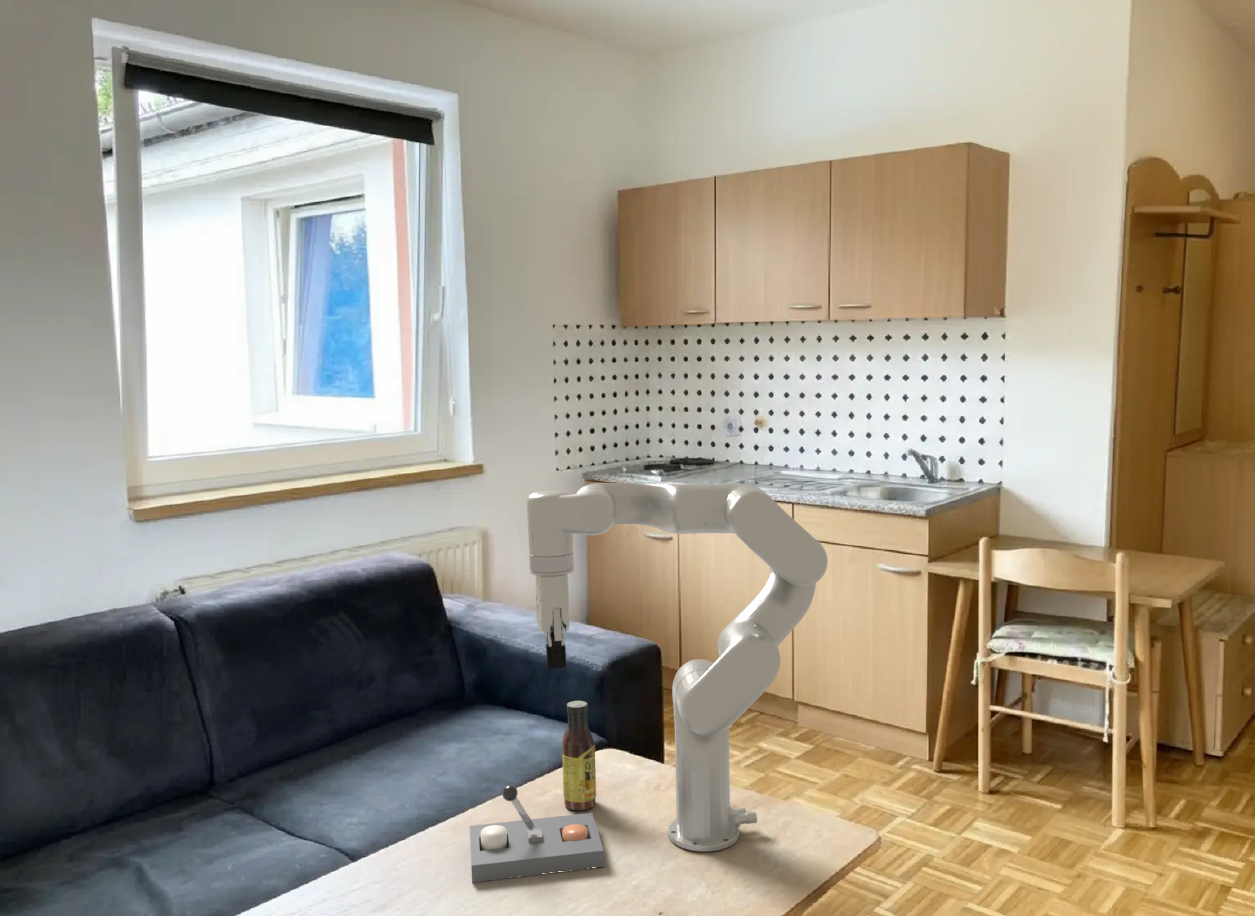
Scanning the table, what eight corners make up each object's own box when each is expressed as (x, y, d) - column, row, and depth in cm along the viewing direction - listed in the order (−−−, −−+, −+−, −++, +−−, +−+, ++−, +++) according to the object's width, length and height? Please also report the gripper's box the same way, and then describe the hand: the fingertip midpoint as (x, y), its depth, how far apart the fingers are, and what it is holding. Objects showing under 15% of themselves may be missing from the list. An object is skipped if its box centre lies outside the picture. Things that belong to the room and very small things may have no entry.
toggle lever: (538, 822, 175) (512, 779, 173) (540, 829, 172) (513, 786, 170) (525, 830, 174) (499, 787, 173) (526, 837, 172) (499, 794, 170)
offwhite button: (506, 843, 175) (505, 823, 175) (508, 855, 171) (507, 835, 170) (481, 845, 174) (480, 826, 174) (481, 858, 170) (481, 838, 170)
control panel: (592, 828, 183) (592, 808, 182) (604, 867, 169) (603, 845, 168) (470, 841, 179) (469, 821, 178) (472, 882, 165) (471, 860, 165)
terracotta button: (586, 841, 178) (585, 823, 177) (589, 854, 173) (589, 834, 173) (561, 844, 177) (561, 825, 176) (564, 857, 172) (563, 837, 172)
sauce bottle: (592, 813, 188) (588, 711, 186) (560, 811, 190) (556, 709, 187) (600, 798, 195) (596, 699, 192) (568, 796, 196) (565, 697, 194)
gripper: (526, 556, 179) (531, 656, 181) (534, 574, 164) (539, 683, 166) (567, 552, 180) (572, 652, 182) (579, 570, 165) (584, 678, 167)
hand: (556, 666), depth 174 cm, fingers closed
